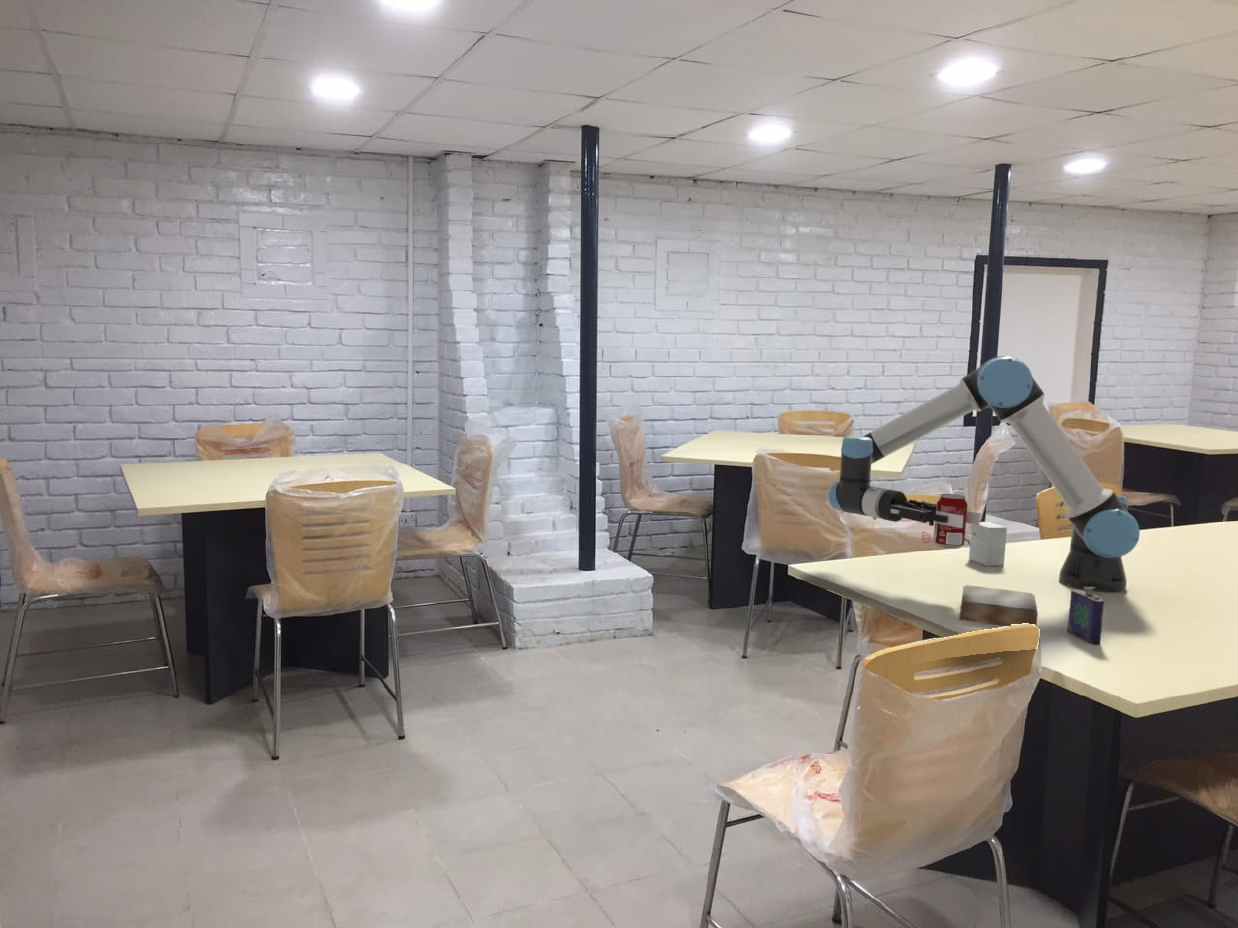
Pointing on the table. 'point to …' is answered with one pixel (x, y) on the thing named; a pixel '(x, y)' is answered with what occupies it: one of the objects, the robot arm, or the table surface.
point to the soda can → (949, 534)
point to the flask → (1085, 615)
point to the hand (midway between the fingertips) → (970, 520)
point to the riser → (998, 606)
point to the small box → (988, 544)
